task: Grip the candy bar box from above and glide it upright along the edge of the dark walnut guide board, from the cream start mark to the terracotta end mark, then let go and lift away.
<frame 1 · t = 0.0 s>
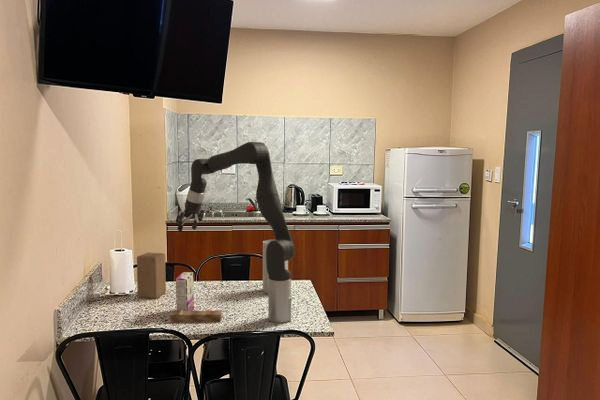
hand: (186, 230, 223), 31 cm above the table, tool tilted 20°, fingers open, 8 cm apart
wooden block: (152, 296, 223), on the table
guide board: (196, 319, 191), on the table
cylinder vase: (275, 291, 233), on the table
candy bar box: (185, 313, 199), on the table
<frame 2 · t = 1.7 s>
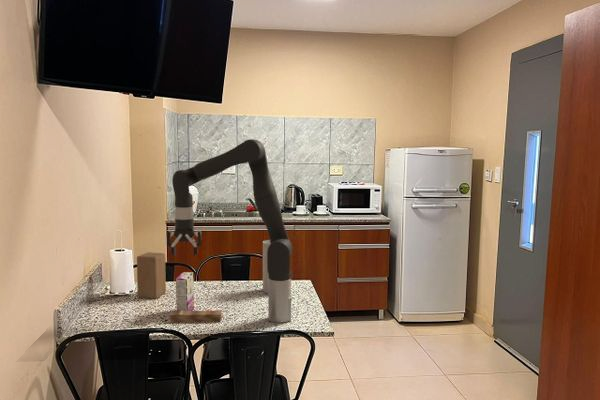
hand: (184, 255, 197), 25 cm above the table, tool pointing down, fingers open, 8 cm apart
nothing on the table moved.
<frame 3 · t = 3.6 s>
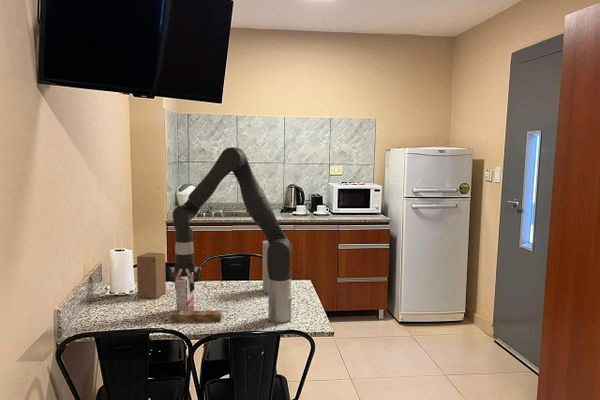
hand: (185, 291, 199), 9 cm above the table, tool pointing down, fingers closed on candy bar box, 5 cm apart
candy bar box: (185, 313, 199), on the table, touching gripper
everything else where it was.
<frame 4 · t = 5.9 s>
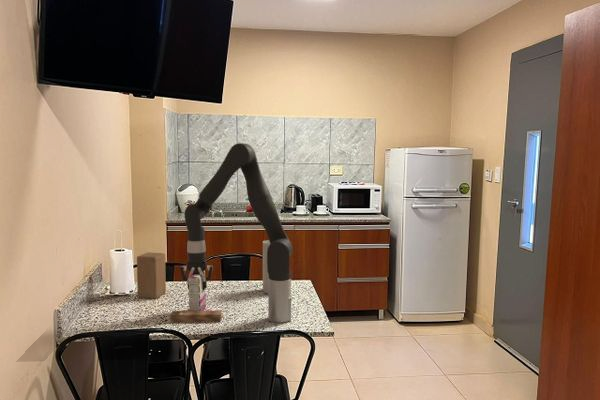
hand: (197, 289, 199), 10 cm above the table, tool pointing down, fingers closed on candy bar box, 5 cm apart
candy bar box: (197, 311, 200), on the table, touching gripper
everything else where it was.
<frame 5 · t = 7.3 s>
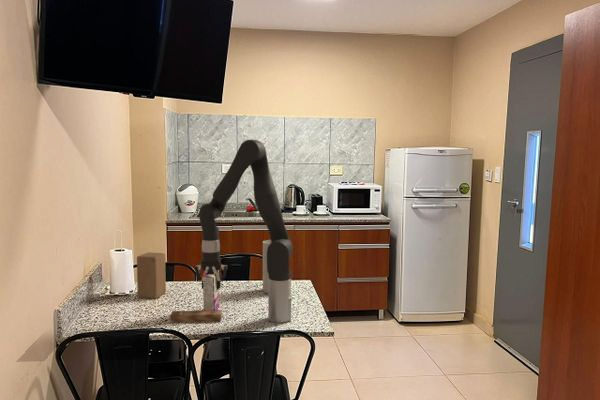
hand: (211, 289, 199), 10 cm above the table, tool pointing down, fingers closed on candy bar box, 5 cm apart
candy bar box: (211, 311, 200), point 1 cm above the table, touching gripper
everything else where it was.
when the fingers open (10 cm above the table, at t = 8.5 s): candy bar box stays where it is, on the table.
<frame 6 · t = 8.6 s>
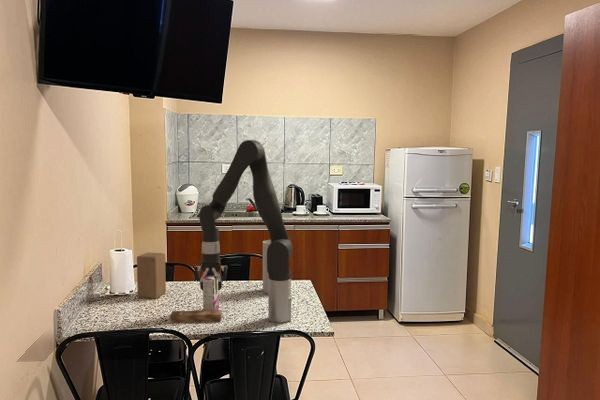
hand: (211, 289, 199), 10 cm above the table, tool pointing down, fingers open, 6 cm apart
candy bar box: (211, 313, 200), on the table
everything else where it was.
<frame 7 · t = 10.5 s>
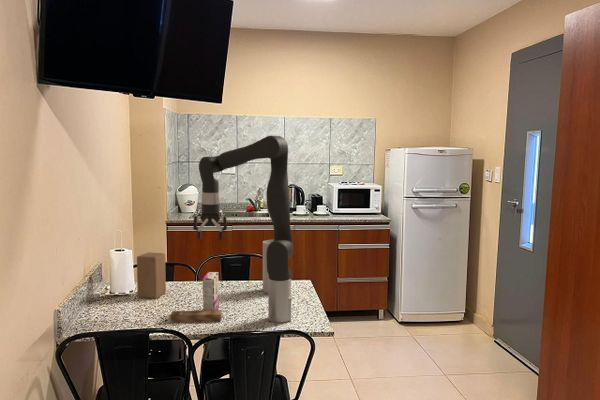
hand: (210, 239, 204), 30 cm above the table, tool pointing down, fingers open, 8 cm apart
nothing on the table moved.
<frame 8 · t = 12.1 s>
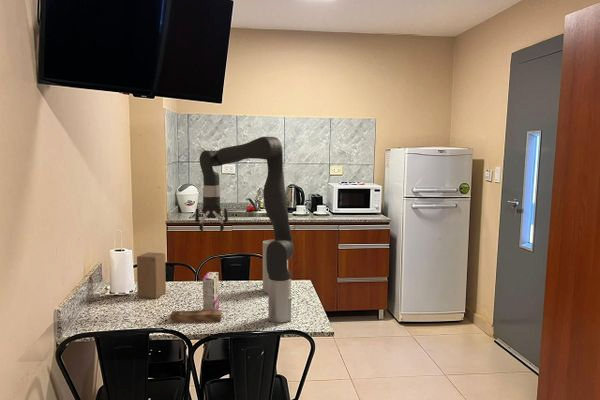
hand: (211, 231, 209), 33 cm above the table, tool pointing down, fingers open, 8 cm apart
nothing on the table moved.
at the end: candy bar box 0.1 cm from the target spot, on the table; candy bar box tilted 0°; the gripper is holding nothing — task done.
